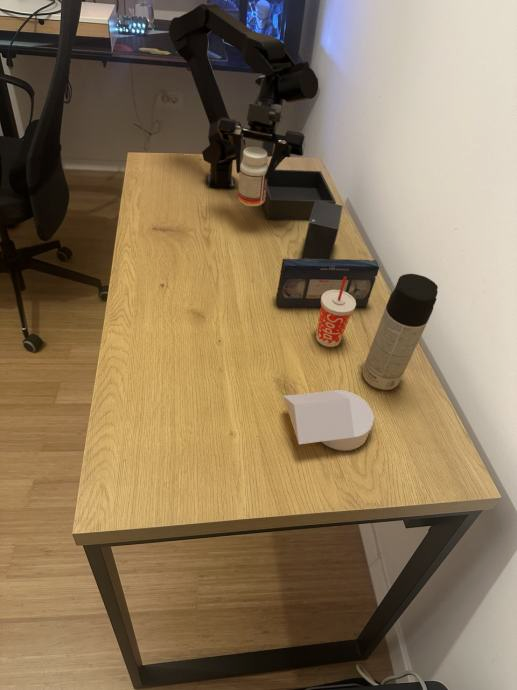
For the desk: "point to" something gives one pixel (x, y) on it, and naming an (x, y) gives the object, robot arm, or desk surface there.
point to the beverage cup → (334, 315)
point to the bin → (295, 194)
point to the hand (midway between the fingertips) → (251, 175)
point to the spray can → (399, 330)
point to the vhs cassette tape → (324, 280)
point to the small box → (322, 230)
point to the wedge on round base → (330, 418)
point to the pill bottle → (253, 176)
